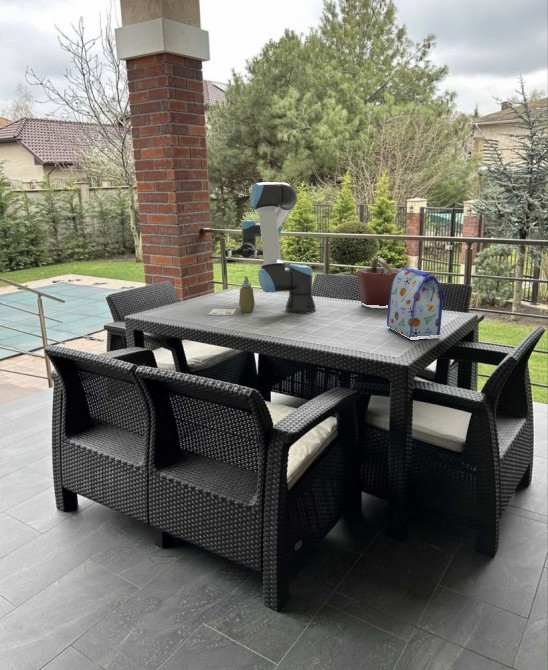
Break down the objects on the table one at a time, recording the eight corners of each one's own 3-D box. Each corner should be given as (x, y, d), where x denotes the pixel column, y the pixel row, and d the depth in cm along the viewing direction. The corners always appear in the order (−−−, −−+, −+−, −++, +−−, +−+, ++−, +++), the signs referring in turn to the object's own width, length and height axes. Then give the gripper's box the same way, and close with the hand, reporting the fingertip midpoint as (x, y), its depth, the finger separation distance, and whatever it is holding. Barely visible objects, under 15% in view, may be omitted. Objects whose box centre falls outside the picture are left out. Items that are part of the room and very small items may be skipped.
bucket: (400, 311, 266) (403, 261, 259) (356, 310, 269) (357, 260, 263) (397, 301, 289) (399, 255, 283) (356, 300, 293) (357, 255, 286)
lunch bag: (447, 338, 215) (451, 272, 208) (410, 342, 211) (413, 275, 204) (417, 326, 236) (420, 265, 229) (383, 329, 232) (386, 267, 225)
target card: (236, 310, 274) (236, 308, 273) (232, 315, 262) (232, 313, 262) (213, 310, 274) (213, 308, 274) (208, 315, 263) (208, 313, 263)
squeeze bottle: (241, 313, 265) (239, 278, 260) (237, 310, 272) (236, 275, 268) (256, 312, 267) (255, 277, 262) (253, 309, 275) (252, 274, 270)
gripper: (269, 256, 293) (266, 261, 272) (224, 257, 294) (218, 262, 274) (269, 243, 291) (266, 247, 270) (224, 243, 293) (217, 247, 272)
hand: (242, 254), depth 272 cm, fingers open, 13 cm apart
